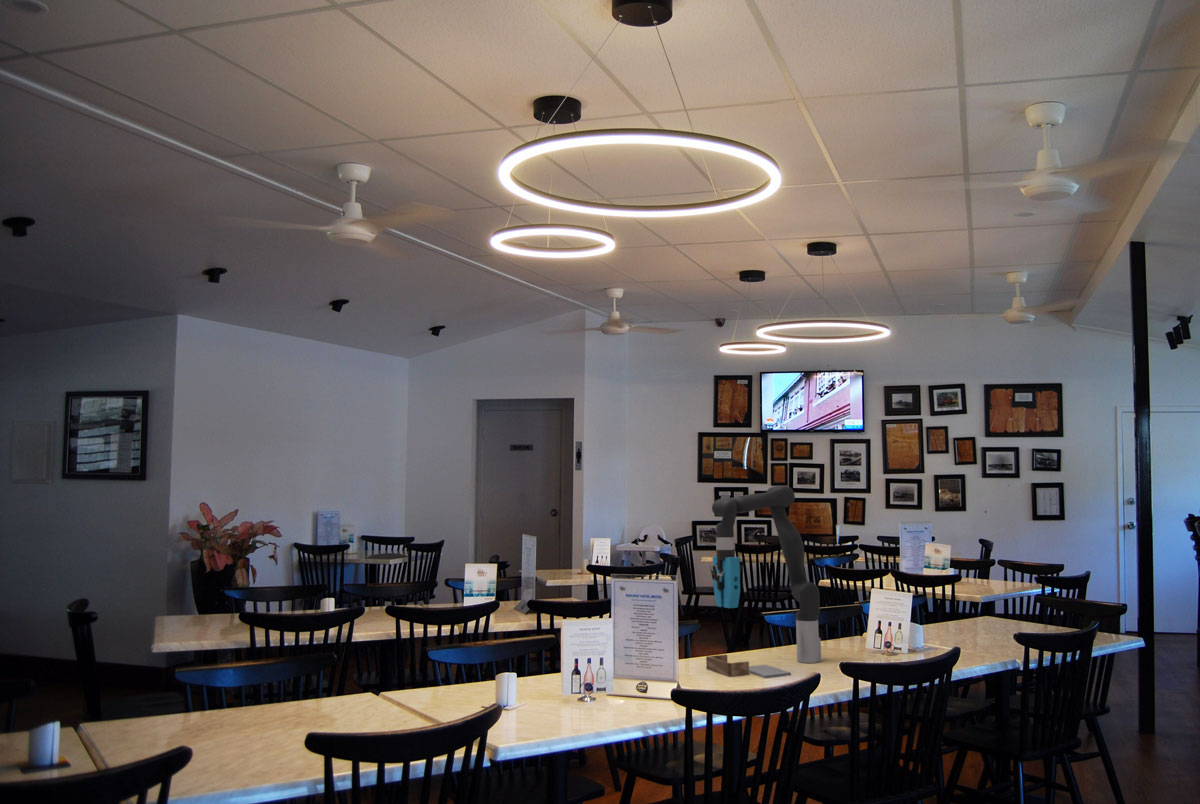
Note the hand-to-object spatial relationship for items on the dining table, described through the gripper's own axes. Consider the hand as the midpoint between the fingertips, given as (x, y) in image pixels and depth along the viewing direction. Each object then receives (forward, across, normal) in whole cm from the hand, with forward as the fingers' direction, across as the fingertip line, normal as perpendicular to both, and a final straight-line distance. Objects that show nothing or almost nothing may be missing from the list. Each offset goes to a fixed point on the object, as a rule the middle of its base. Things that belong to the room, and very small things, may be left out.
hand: (726, 590), depth 367 cm
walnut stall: (+32, 0, 0) cm, 32 cm away
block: (+7, 0, 0) cm, 7 cm away
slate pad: (+32, -12, +8) cm, 35 cm away
